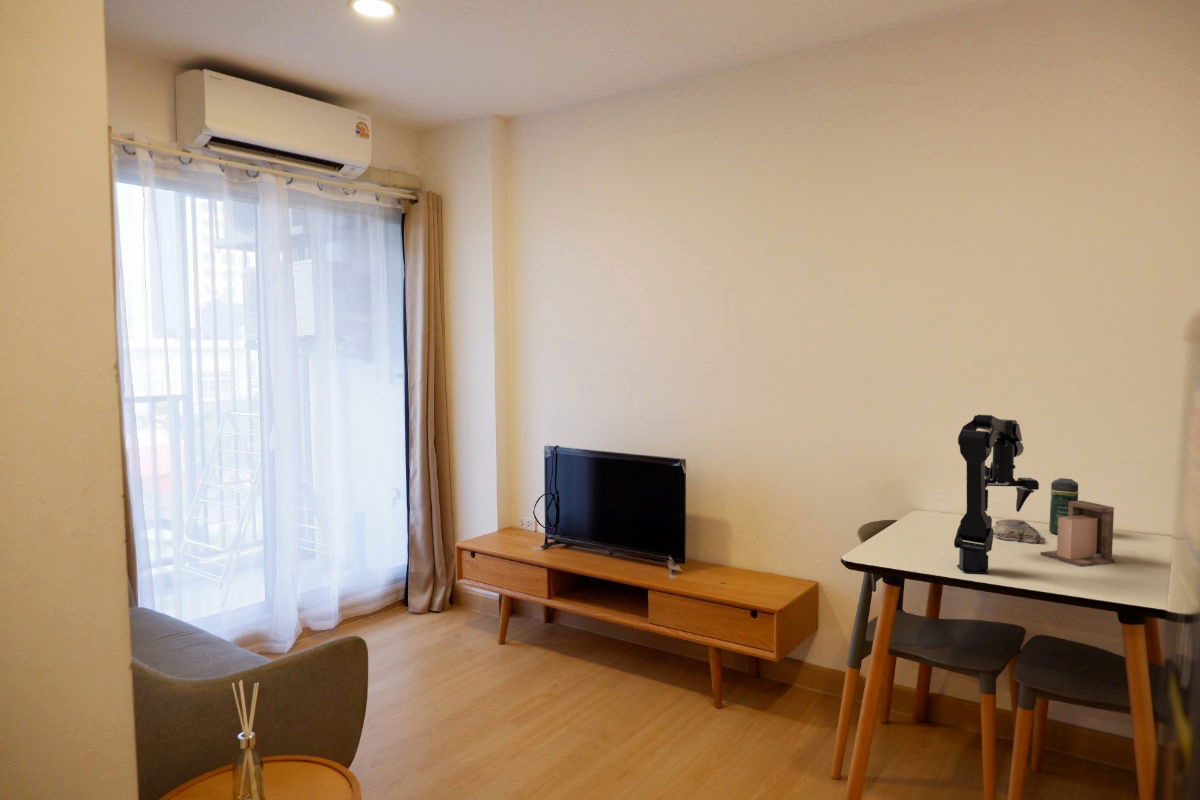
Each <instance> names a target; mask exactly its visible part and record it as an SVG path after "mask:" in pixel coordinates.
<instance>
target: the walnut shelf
mask: <svg viewBox="0 0 1200 800" xmlns="http://www.w3.org/2000/svg"><path fill="white" fill-rule="evenodd" d="M1114 510H1115V508H1114V506H1112V505H1111V506H1110V505H1105V504H1100V503H1096V502H1091V501H1085V500H1078V501H1069V506H1068V516H1078V515H1086V516H1091V517H1095V518H1098V524H1097V550H1096V554H1092V557H1086V558H1077V559H1068V558H1064V557H1061V556H1058V555H1057V549H1056V550H1049V551H1040V554H1041V555H1040V556H1043V555H1044V556H1043V557H1046V556H1048V557H1047V558H1049V557H1050V559H1053V558H1054V559H1053V560H1056V559H1057V560H1056V561H1060V562H1063V563H1067V564H1071V565H1074V566H1076V567H1086V566H1096V565H1103V564H1102V563H1104V564H1110V563H1109V562H1112V563H1116V562H1117V559H1115V558H1113V542H1114V541H1113V539H1114V518H1115V517H1114V515H1115V511H1114ZM1095 564H1096V565H1095Z"/></svg>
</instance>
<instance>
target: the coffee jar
mask: <svg viewBox="0 0 1200 800" xmlns="http://www.w3.org/2000/svg"><path fill="white" fill-rule="evenodd" d="M1050 488H1051V489H1050V502H1049V503H1050V508H1049V527H1048V528H1049V532H1050V533H1051V534H1055V535H1058V517H1067V516H1068V506H1069V501H1079V482H1077V481H1076V480H1073V479H1072V478H1064V477H1059V478H1058V479H1055V480H1053V481H1052V482H1051V486H1050Z"/></svg>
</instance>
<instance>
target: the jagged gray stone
mask: <svg viewBox="0 0 1200 800" xmlns="http://www.w3.org/2000/svg"><path fill="white" fill-rule="evenodd" d="M992 529H993V531H994V535H993V536H995V538H997V539H1000V538H1001V540H1004V541H1007V542H1013V541H1017V542H1016V543H1018V542H1019V541H1020V543H1026V542H1027V543H1028V544H1034V543H1036V544H1038V543H1039V542H1040V541H1041V535H1040V533H1039V531H1038V530H1037V529H1036V528H1034V527H1033V526H1031V525H1030V524H1029V523H1027V522H1026V521H1025V520H1020V519H1001V520H997V521H996V522H995V525H994V526H992Z"/></svg>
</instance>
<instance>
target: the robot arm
mask: <svg viewBox="0 0 1200 800" xmlns="http://www.w3.org/2000/svg"><path fill="white" fill-rule="evenodd" d="M979 429H980V430H979ZM1022 441H1023V438H1022V432H1021V428H1020V423H1018V421H1017V420H1016V419H1005V418H1004V419H1003V418H1002V419H1000V418H997V417H995V415H994V416H993V415H992V414H977V415H974V416H973V419H972V420H971V421H970V422H968V423H965V424H964V425H963V426H962V427H961V430H960V432H959V434H958V437H957V444H958V446H959V452H960V454H961V456H962V458H963V459H964V461H965V462H966V513H965V514H964V516H963V517H962V518H961V520H960V522H959V526H958V528H957V531H956V534H955V538H954V540H953V545H954V548H956V549H959V551H958V552H959V555H958V556H959V559H958V564H957V565H956V567H957V569H959V570H961V571H962V572H963V573H965V574H989V572H990V571H988V570H989V555H988V553H989V552H991V551H992V548H993V541H994V536H995V535H994V531H993V529H992V527H993V526H992V525H993V524H992V523H993V519H992V516H991V515H989V514H987V513H986V512H988V507H989V490H988V489H987V487H1015V488H1016V489H1015V490H1016V494H1017V495H1016V502H1015V504H1016V505H1015V510H1016V512H1017V513H1019V512H1020V511H1021V510H1022V507H1023V505H1024V503H1025V502H1026V501H1027V499H1028V498H1029V496H1030V495H1031V494H1032V493H1035V491H1038V490H1039V489H1040V483H1039V481H1038V480H1037V479H1034V478H1032V477H1018V478H1017V479H1015V477H1014V472H1015V469H1016V464H1015V458H1017V457H1019V456H1021V455H1022V454H1023V452H1024V449H1025V448H1024V444H1023V443H1022ZM991 454H992V461H991V462H990V467H988V466H987V465H986V462H987V459H989V456H990V455H991Z"/></svg>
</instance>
